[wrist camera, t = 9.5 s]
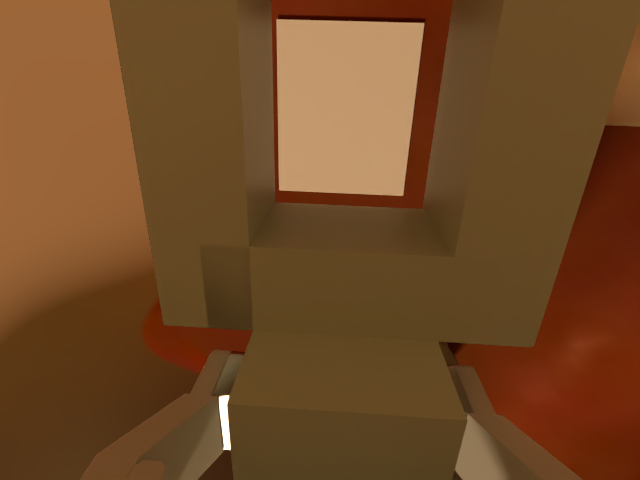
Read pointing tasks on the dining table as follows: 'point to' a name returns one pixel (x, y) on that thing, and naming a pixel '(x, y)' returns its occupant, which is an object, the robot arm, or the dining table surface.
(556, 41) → the link
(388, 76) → the mat
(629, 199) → the dining table surface
